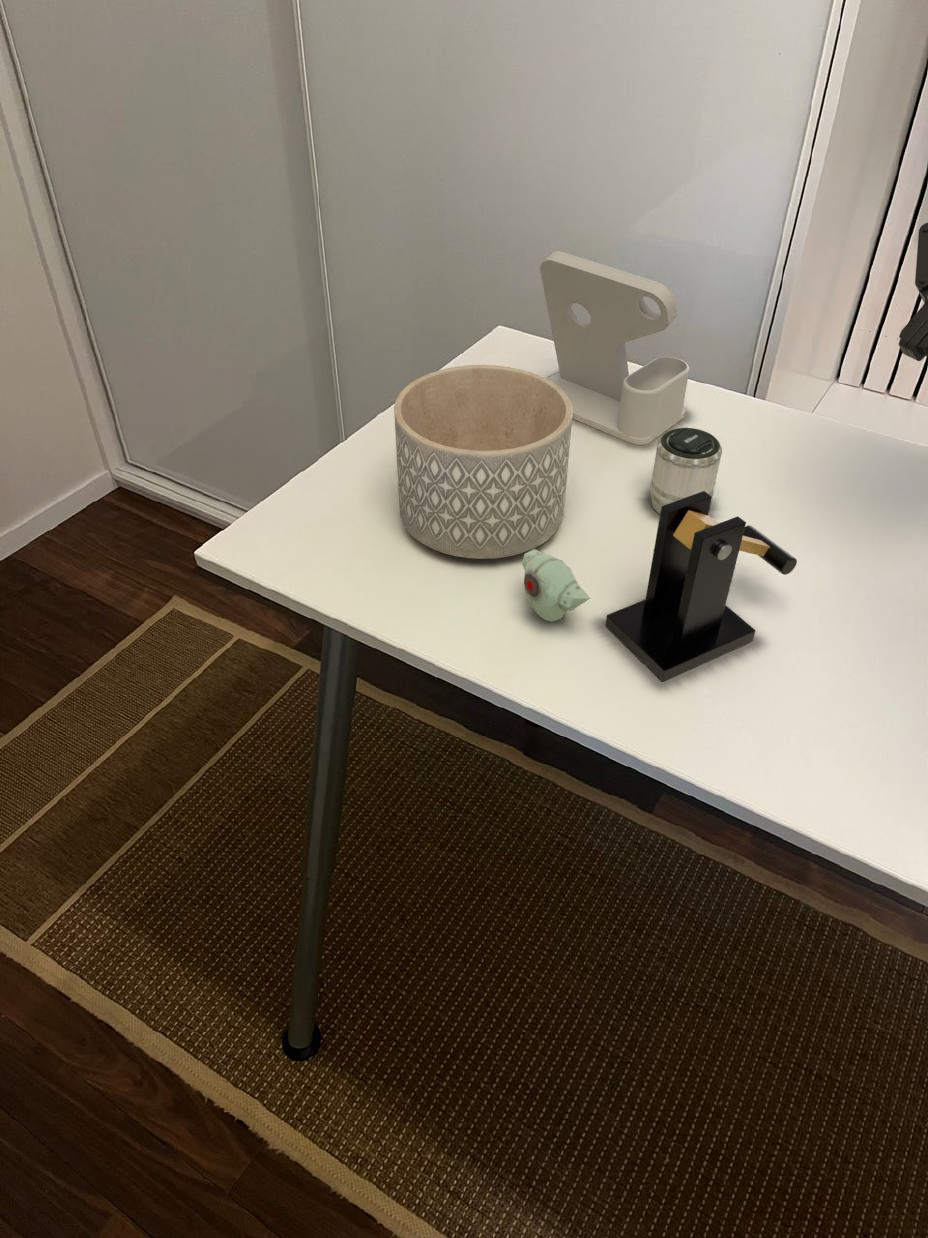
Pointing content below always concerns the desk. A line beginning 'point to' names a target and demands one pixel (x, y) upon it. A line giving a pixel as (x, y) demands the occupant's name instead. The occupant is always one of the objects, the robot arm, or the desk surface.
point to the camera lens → (684, 465)
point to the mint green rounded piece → (550, 586)
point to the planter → (482, 459)
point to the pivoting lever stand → (686, 596)
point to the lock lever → (750, 541)
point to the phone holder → (612, 348)
